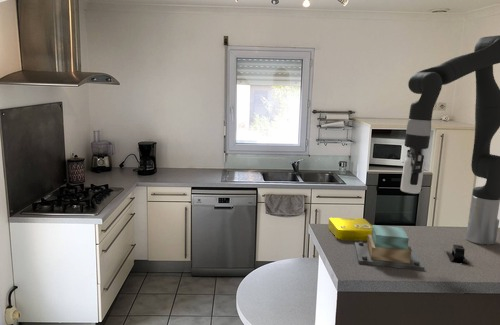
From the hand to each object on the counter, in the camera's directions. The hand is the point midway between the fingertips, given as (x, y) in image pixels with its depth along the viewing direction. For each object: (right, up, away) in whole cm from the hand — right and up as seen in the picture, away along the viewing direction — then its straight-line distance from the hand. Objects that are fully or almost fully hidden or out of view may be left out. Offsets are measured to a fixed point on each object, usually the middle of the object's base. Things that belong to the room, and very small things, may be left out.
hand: (411, 182), depth 140 cm
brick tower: (-9, -25, -2) cm, 26 cm away
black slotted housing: (+15, -26, 0) cm, 31 cm away
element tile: (-16, -21, +19) cm, 33 cm away
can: (0, -3, 0) cm, 3 cm away
